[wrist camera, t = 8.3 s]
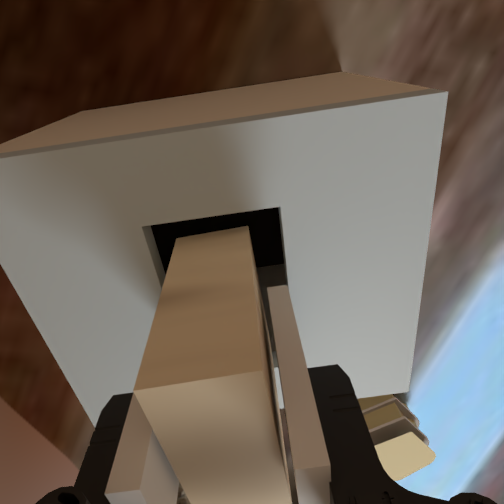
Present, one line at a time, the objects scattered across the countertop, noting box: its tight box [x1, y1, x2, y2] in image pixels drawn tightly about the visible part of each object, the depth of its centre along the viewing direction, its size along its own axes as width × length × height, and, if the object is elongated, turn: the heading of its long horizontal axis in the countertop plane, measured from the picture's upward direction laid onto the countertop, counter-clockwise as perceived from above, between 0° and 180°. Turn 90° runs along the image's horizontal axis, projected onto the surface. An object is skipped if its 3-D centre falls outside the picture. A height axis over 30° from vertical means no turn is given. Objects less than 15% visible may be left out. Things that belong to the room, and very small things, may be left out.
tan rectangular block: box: [133, 226, 292, 504], centre depth 12 cm, size 6×3×7 cm, turn 10°
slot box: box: [0, 72, 448, 427], centre depth 20 cm, size 14×16×12 cm
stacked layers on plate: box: [358, 394, 436, 481], centre depth 35 cm, size 10×9×6 cm
